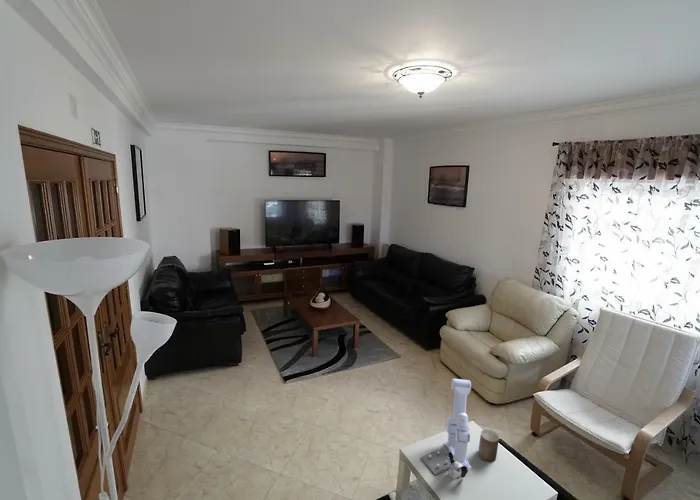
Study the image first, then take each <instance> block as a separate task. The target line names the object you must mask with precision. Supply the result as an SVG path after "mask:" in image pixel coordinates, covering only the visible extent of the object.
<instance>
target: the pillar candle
mask: <svg viewBox="0 0 700 500" xmlns="http://www.w3.org/2000/svg"><path fill="white" fill-rule="evenodd" d="M499 439H500V436H499V434H498V433H497V432H496V431H495V430H492V429H490V428H483V429H482V430H481V431H480V437H479V444H478V451H477V452H478V456H479V457H480V459H482V460H483V461H484V462H488V463H493V462H495V461H496V459H497V455H498V449H499V448H498V447H499V441H500V440H499Z"/></svg>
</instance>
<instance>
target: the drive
mask: <svg viewBox="0 0 700 500" xmlns="http://www.w3.org/2000/svg"><path fill="white" fill-rule="evenodd" d="M462 466H464V465H462V464H460V463H459V462H457V461H456V462H454V463H452V464H450V465H449V469H448V470H447V474H448V476H449V477H450V478H451V479H452V480H456V479H458V478H460V477H461V468H460V467H462Z"/></svg>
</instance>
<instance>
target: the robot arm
mask: <svg viewBox="0 0 700 500" xmlns="http://www.w3.org/2000/svg"><path fill="white" fill-rule="evenodd" d="M450 389H451V391H453V393H454V399H453V410H452V416H450V417H448V418H447V422H446V432H447V434H448V435H447V441H445V442H444V443H443V445H444V446H446V448H447V449H448V452H449V453H448V454H447V456H448V457H449V458H450V462H451V464H452V463H454V462H456V461H457V462H459V463H460V464H462V465H464V466H462V467H460V468H461V476H460V477H461V478H465V477H466V475H467V474H468V472H469V471H472V466H471V464H470V463H469V461H468V459H467V452H468V451H467V450H468V443H470V441H471V440H470V439H471V433H470V428H469V416H468V414H467V397H468V396H469V395H470V392H471V390H472V382H471V381H470V379H460V378H454V377H453V378H452V379H451V386H450Z"/></svg>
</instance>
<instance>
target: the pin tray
mask: <svg viewBox="0 0 700 500" xmlns="http://www.w3.org/2000/svg"><path fill="white" fill-rule="evenodd" d="M420 459H421V461H422V462H423V463H424V464H425V466H426V467H427V468H428V469H429V470H430V471H431V473H433V474H432V475H434V476H438V475H440V474H442V473H444V472H446V471H448V469H449V465H450V464H451V462H450V458H449V456H448V454H446V453H445V452H444V451H443V450H442V449H441V448H440V449H437V450H435V451H433V452H429V453H428V454H426V455H423V456H421V458H420Z"/></svg>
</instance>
